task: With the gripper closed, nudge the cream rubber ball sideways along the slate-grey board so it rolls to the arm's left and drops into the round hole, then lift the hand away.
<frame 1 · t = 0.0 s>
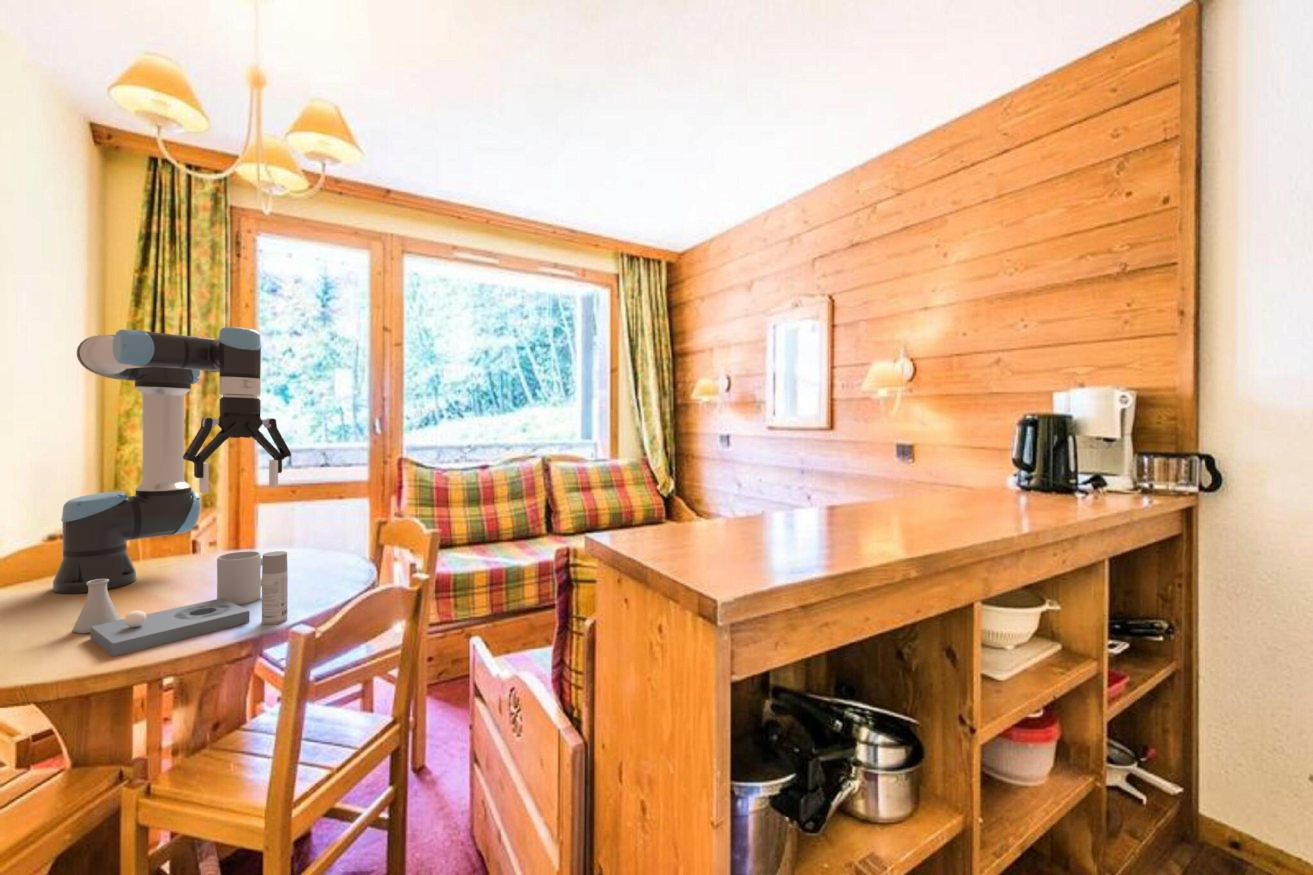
hand: (240, 489, 128), 28 cm above the table, fingers open, 13 cm apart
container: (274, 621, 123), on the table
flask: (98, 628, 117), on the table
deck: (173, 629, 117), on the table
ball: (135, 618, 112), point 4 cm above the table, touching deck
mug: (247, 599, 137), on the table
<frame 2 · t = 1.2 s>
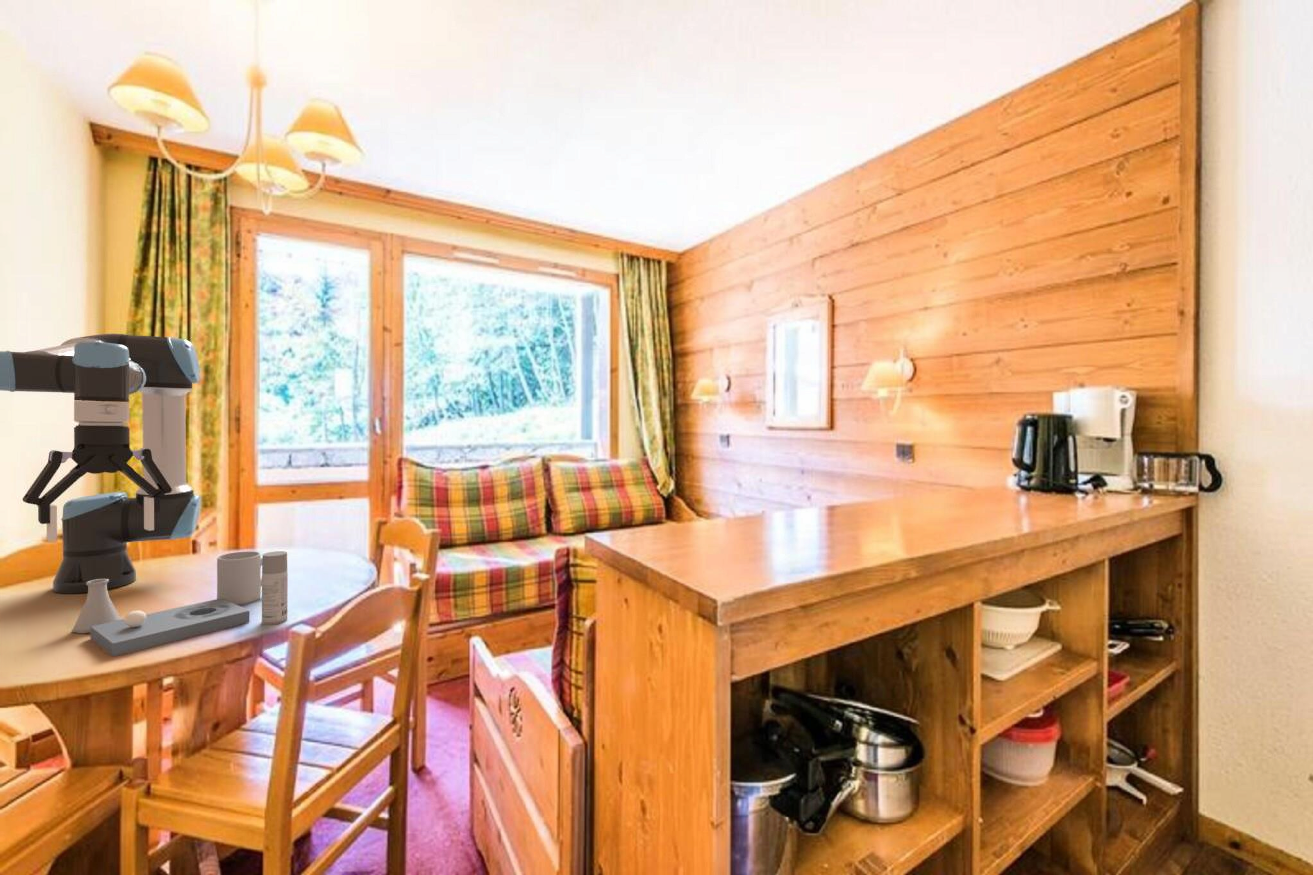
hand: (103, 535, 107), 22 cm above the table, fingers open, 13 cm apart
nothing on the table moved.
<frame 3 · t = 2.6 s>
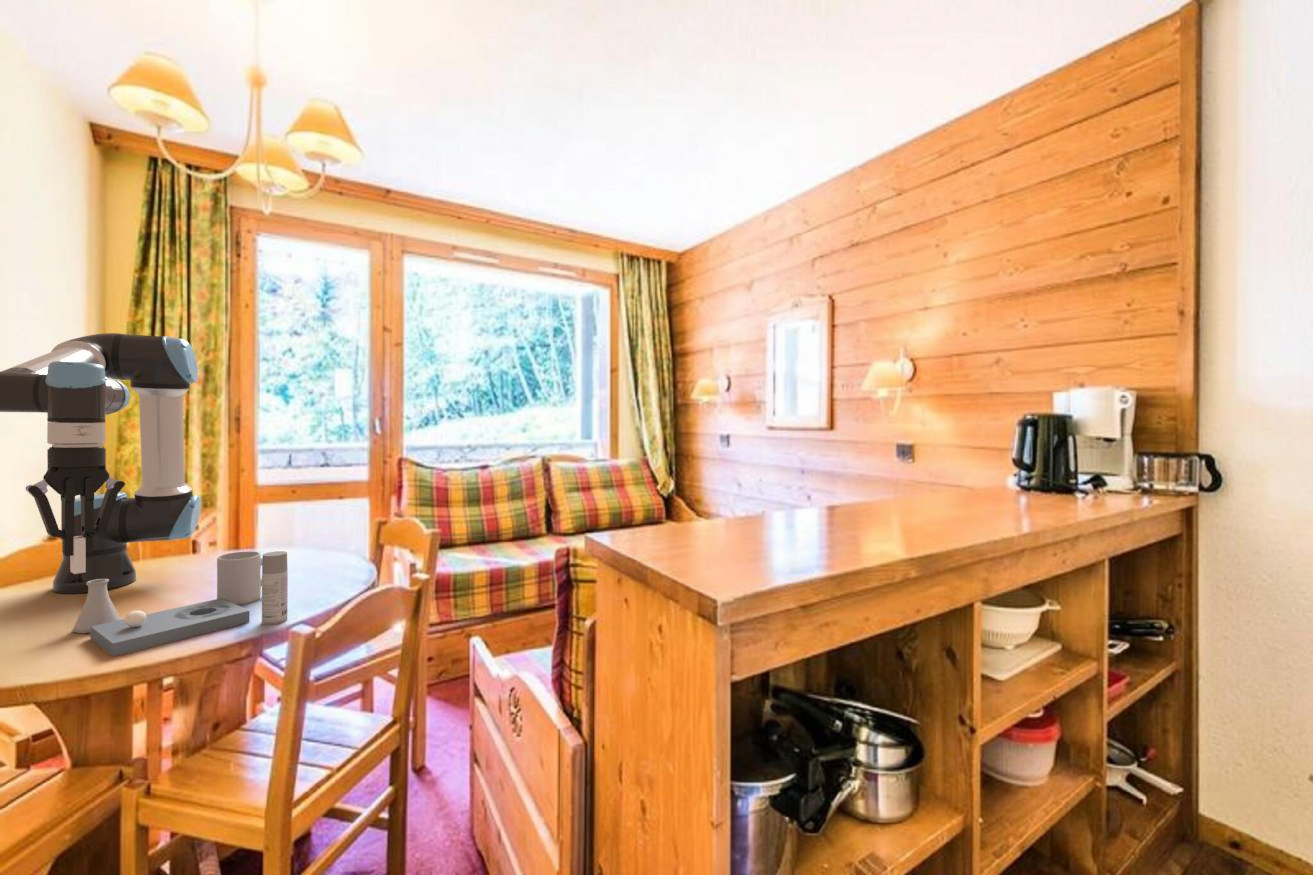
hand: (78, 571, 104), 15 cm above the table, fingers closed
nothing on the table moved.
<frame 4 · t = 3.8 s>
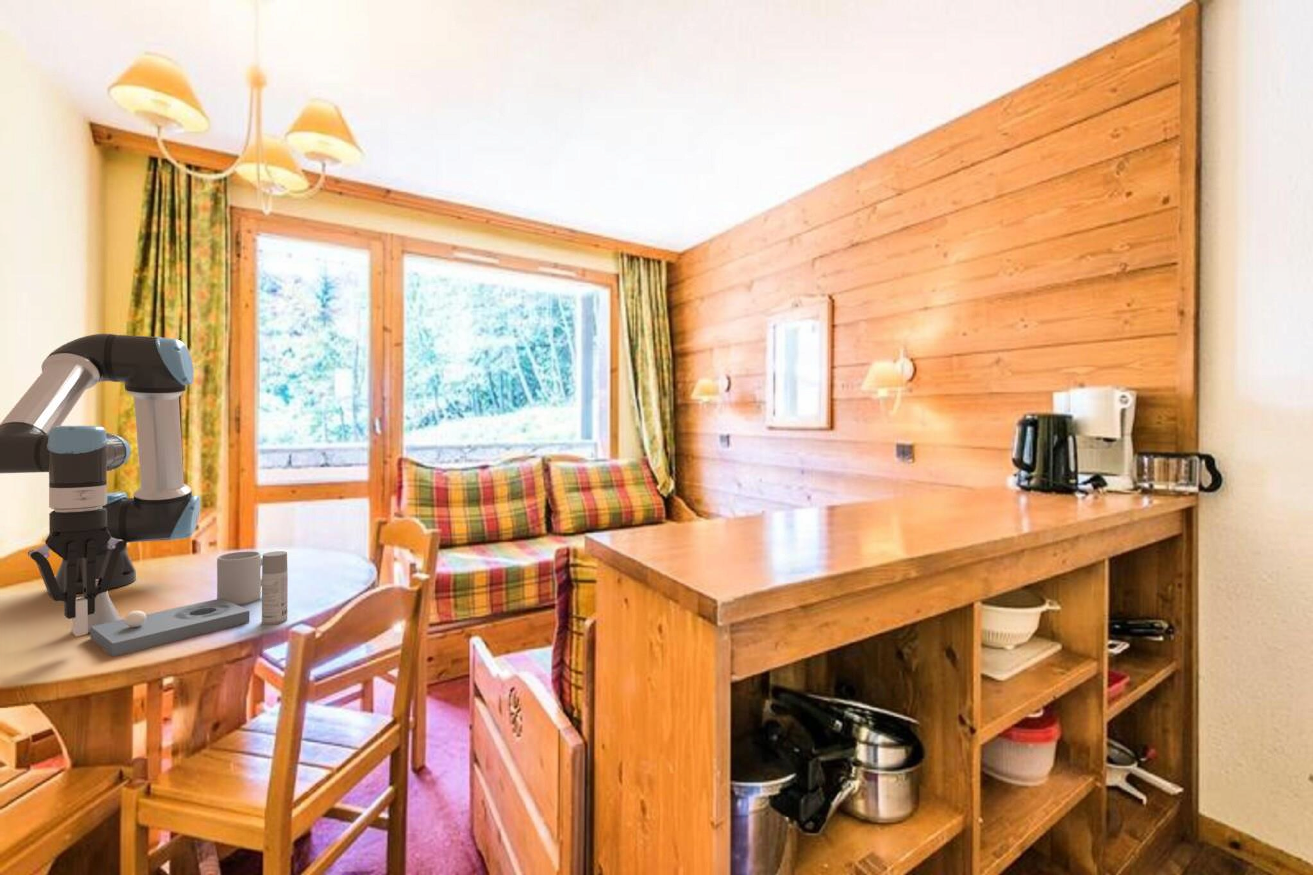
hand: (80, 633, 105), 4 cm above the table, fingers closed
nothing on the table moved.
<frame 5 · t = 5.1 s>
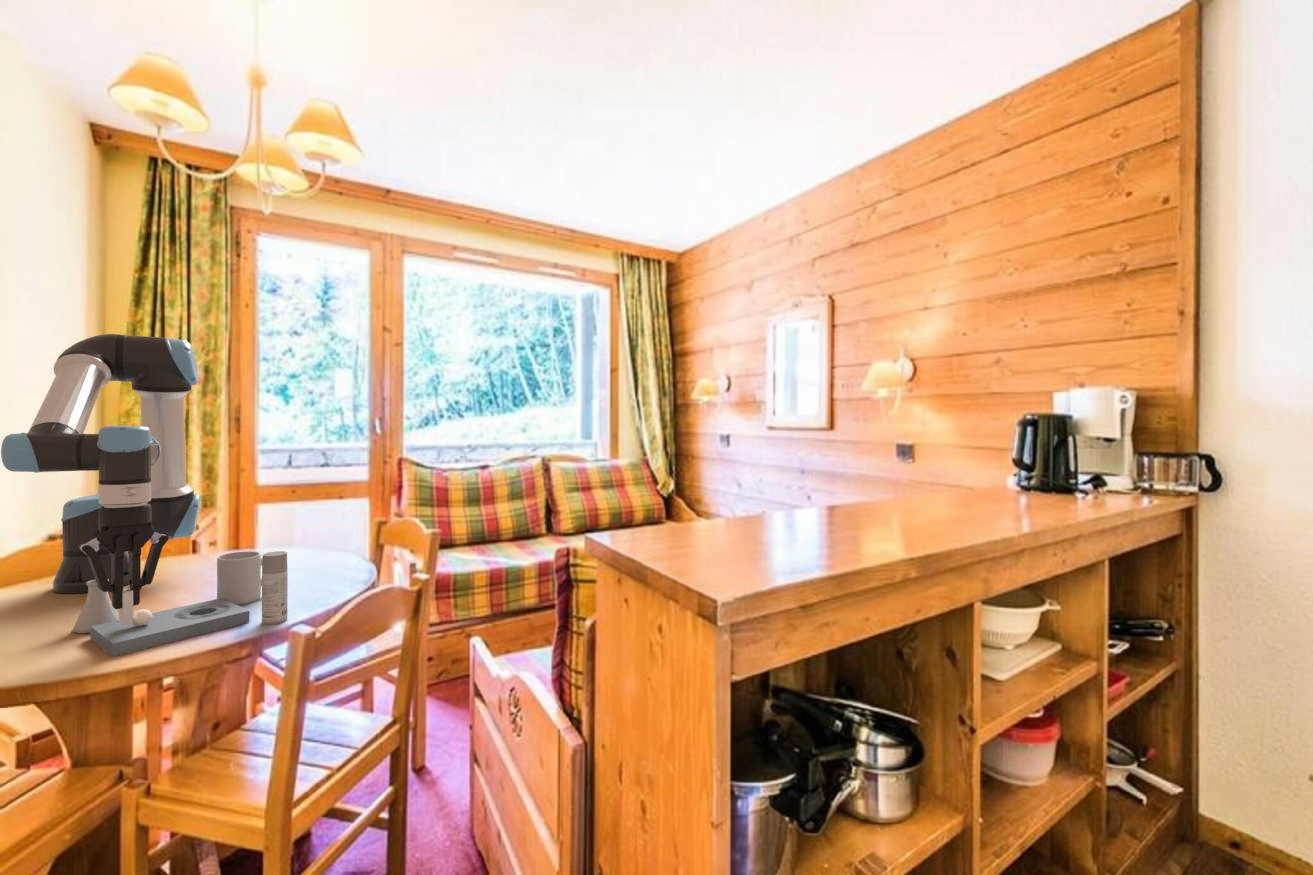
hand: (126, 622, 111), 4 cm above the table, fingers closed
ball: (141, 617, 112), point 4 cm above the table, tilted 31°, touching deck, gripper
everything else where it was.
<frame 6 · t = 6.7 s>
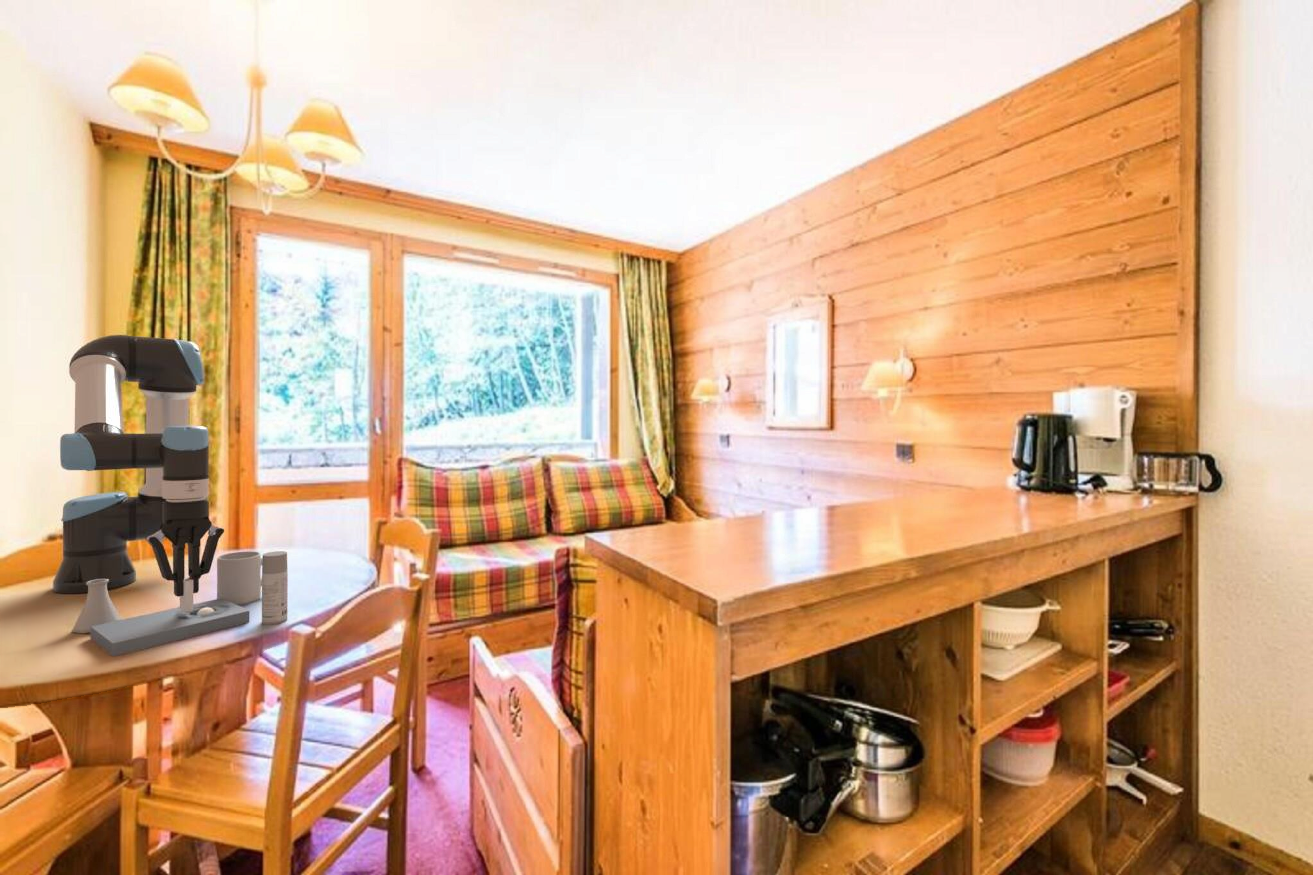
hand: (186, 609, 119), 4 cm above the table, fingers closed
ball: (205, 615, 121), point 2 cm above the table, tilted 53°
everything else where it was.
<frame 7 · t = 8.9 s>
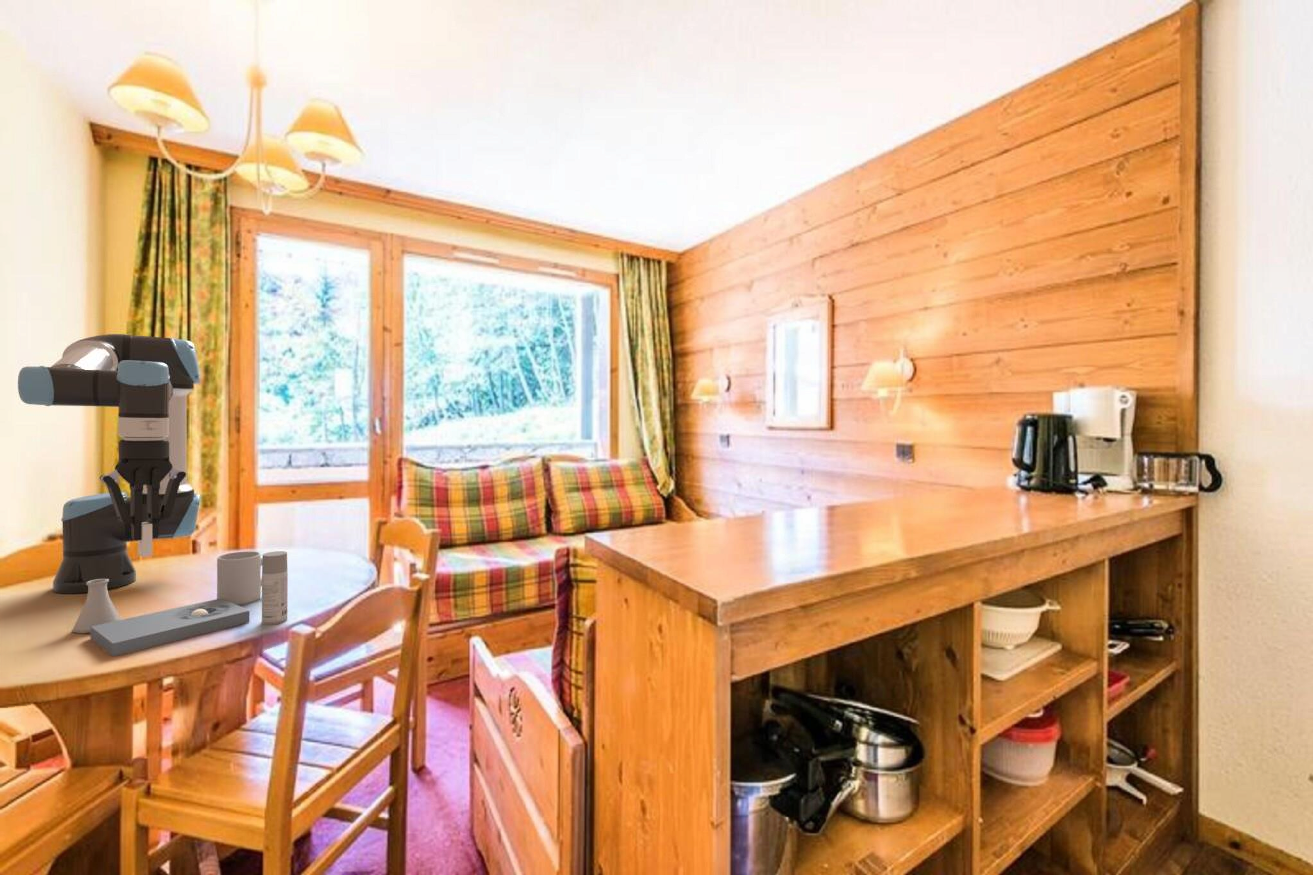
hand: (145, 555, 113), 17 cm above the table, fingers closed
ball: (199, 616, 120), point 2 cm above the table, tilted 12°
everything else where it was.
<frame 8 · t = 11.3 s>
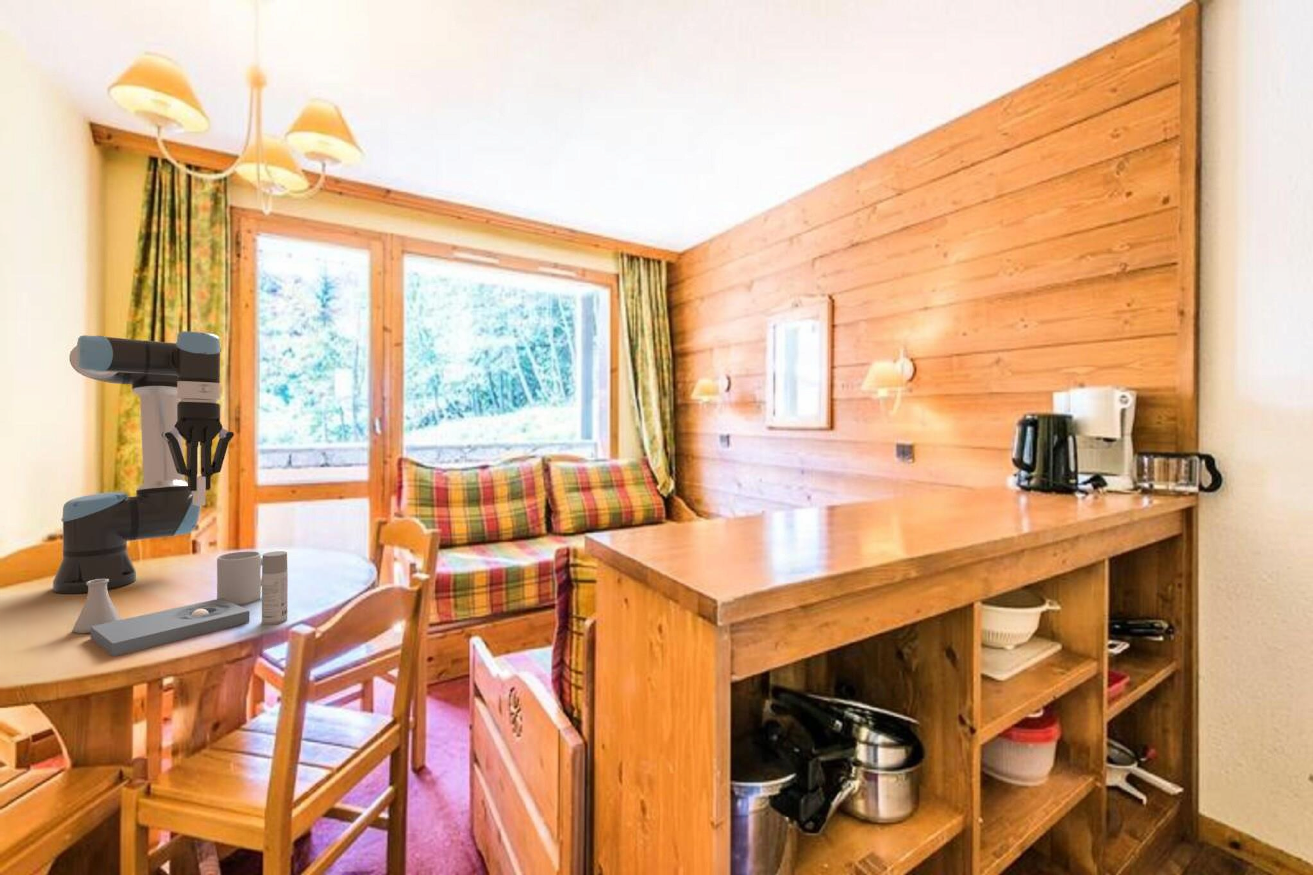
hand: (199, 504, 127), 24 cm above the table, fingers closed
nothing on the table moved.
at the end: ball 0.6 cm from the target spot in the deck, point 1.6 cm above the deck's base; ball touching table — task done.
